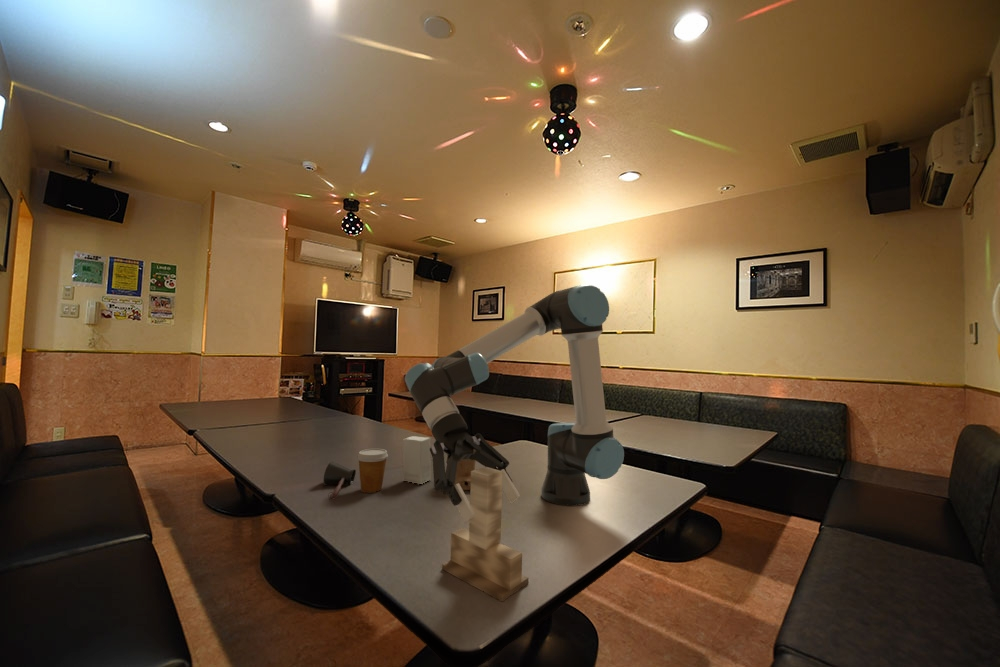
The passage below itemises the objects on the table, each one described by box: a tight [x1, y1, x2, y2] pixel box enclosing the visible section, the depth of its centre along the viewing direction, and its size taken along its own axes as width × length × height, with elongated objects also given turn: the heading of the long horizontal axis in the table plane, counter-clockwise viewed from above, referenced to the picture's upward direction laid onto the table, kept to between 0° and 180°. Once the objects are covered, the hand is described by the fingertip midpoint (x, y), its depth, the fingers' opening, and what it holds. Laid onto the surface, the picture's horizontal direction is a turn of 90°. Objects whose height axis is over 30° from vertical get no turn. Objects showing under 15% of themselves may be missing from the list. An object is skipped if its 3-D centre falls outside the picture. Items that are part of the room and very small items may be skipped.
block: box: [468, 466, 503, 550], centre depth 80 cm, size 4×4×14 cm
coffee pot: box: [322, 461, 357, 499], centre depth 128 cm, size 8×18×8 cm
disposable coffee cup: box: [356, 448, 389, 493], centre depth 128 cm, size 10×10×12 cm
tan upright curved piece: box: [454, 449, 477, 491], centre depth 136 cm, size 15×12×15 cm
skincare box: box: [402, 435, 432, 485], centre depth 138 cm, size 8×6×15 cm
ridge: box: [441, 527, 529, 602], centre depth 80 cm, size 16×8×6 cm, turn 50°
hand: (494, 508), depth 79 cm, fingers open, 13 cm apart
